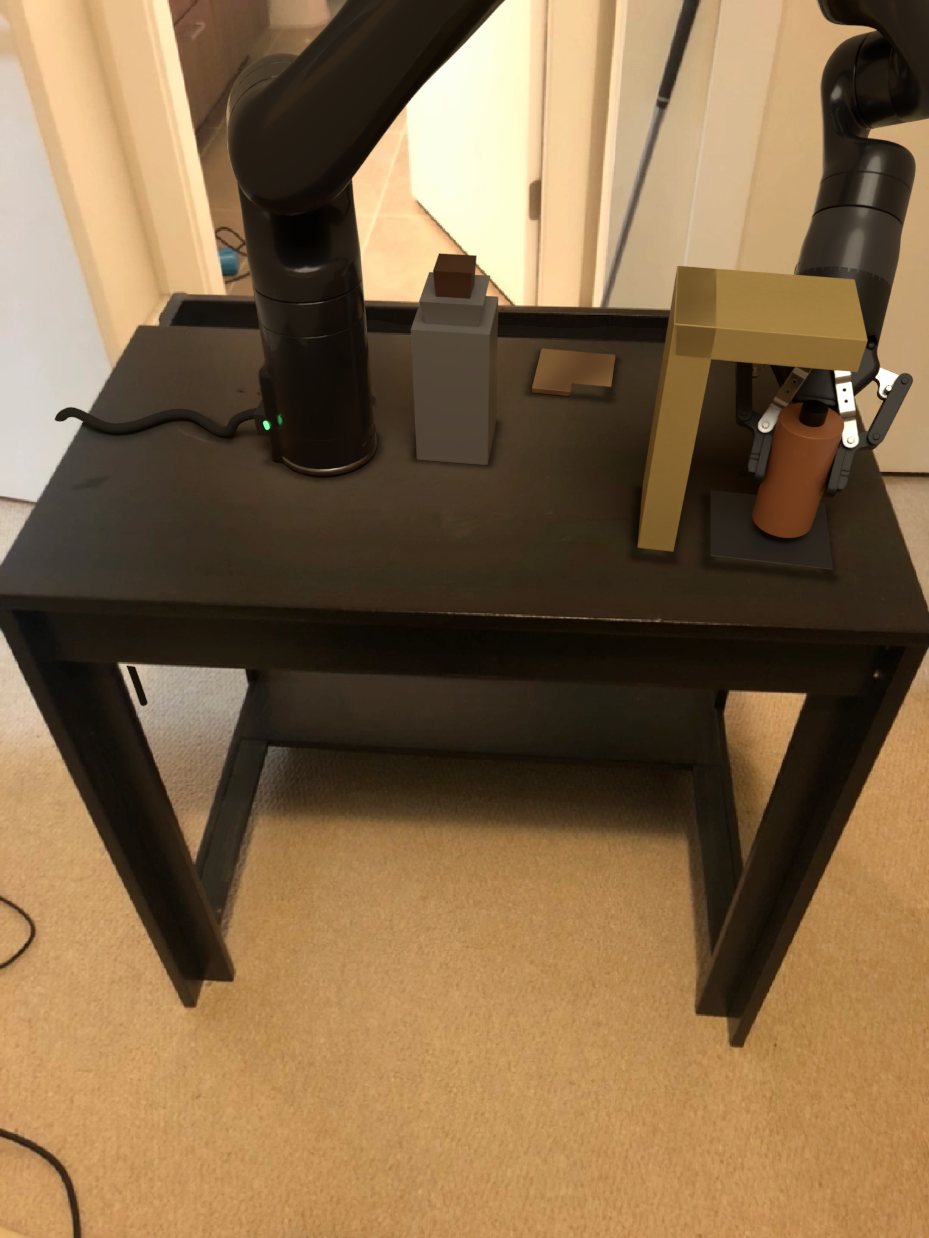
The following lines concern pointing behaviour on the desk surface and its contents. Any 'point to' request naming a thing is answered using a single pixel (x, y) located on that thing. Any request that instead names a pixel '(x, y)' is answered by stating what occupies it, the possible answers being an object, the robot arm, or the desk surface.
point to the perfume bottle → (455, 363)
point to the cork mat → (571, 371)
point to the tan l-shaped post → (754, 333)
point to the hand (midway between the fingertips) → (793, 488)
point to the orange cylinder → (797, 468)
